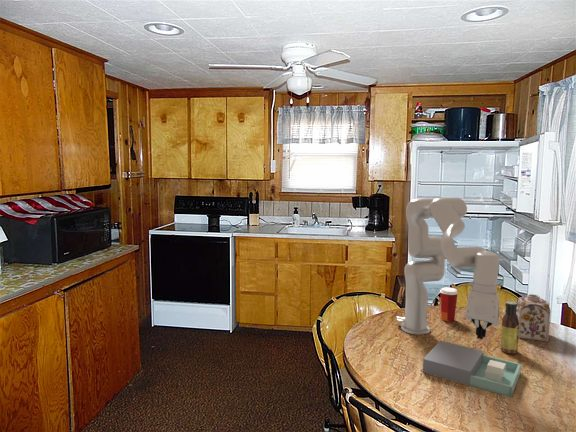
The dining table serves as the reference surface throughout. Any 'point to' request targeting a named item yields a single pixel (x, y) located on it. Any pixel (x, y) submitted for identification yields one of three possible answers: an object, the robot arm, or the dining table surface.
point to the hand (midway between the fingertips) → (480, 337)
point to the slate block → (453, 362)
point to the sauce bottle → (510, 329)
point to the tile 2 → (493, 376)
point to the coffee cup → (448, 303)
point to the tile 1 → (496, 367)
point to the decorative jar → (533, 318)
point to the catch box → (502, 387)
